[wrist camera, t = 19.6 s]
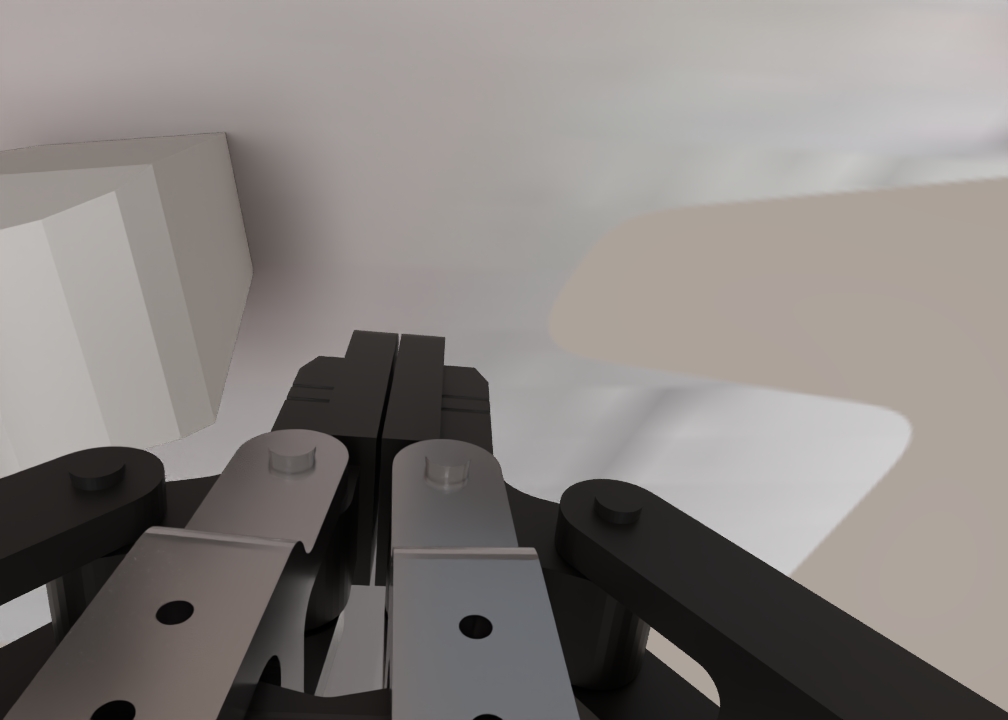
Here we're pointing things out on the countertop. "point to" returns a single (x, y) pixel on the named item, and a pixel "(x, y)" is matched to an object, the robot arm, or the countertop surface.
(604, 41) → the countertop surface
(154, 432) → the soap bottle
